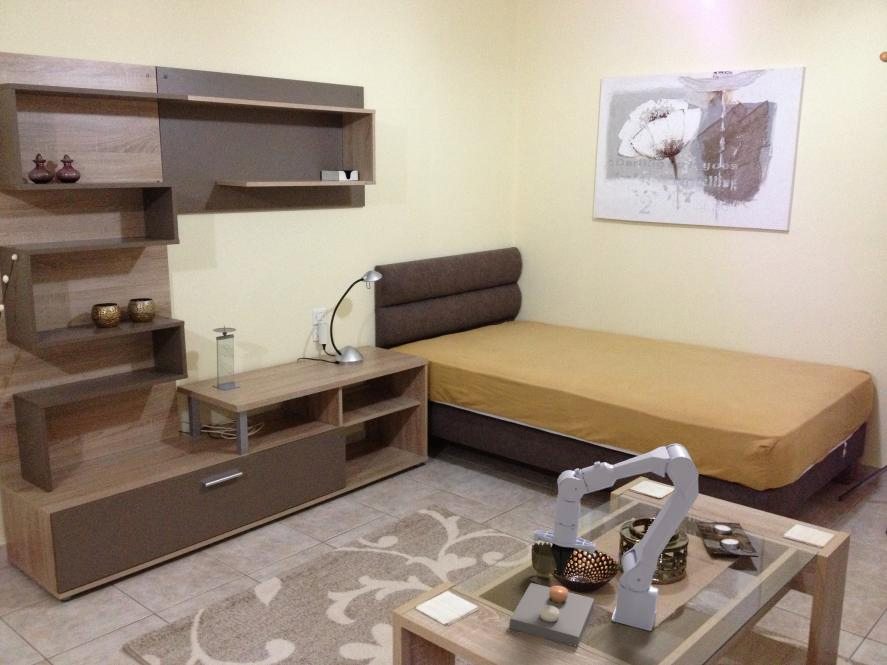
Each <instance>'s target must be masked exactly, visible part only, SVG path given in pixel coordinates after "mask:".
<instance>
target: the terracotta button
mask: <svg viewBox="0 0 887 665" xmlns="http://www.w3.org/2000/svg"><path fill="white" fill-rule="evenodd" d="M568 592H569V590H568V588H566V587H564V586H562V585H553V586H551V587H550V592H549V597H550V598H551V599H552V601H553V602H557V603H560V604H563V602H564V601H565V600H567V597H568Z"/></svg>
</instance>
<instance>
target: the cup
mask: <svg viewBox="0 0 887 665" xmlns="http://www.w3.org/2000/svg"><path fill="white" fill-rule="evenodd" d="M542 542H543V541H542ZM542 542H541V541H540V542H539V543H538V542H534V544H531V550H530V551H531V565H532V568H533V569H534V571H535V575H536V576H537V578H539V579H541V580H548V579H549V578H550V576H551V574H552V573H553V572H555V571H556V570H557V567H556V562H555V559H554V556H553V554H552V552H551V547H552V545H551V543H549V542H544V543H542Z"/></svg>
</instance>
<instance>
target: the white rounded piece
mask: <svg viewBox="0 0 887 665" xmlns="http://www.w3.org/2000/svg"><path fill="white" fill-rule="evenodd" d="M539 616H540V618H541V619H542V620H544V621H547V622H552V623H554V622H555V621H557V620H558V618H559V610H558V609H557V608H556V607H554V606H550V605H545V606H542V607H541V608H540V615H539Z"/></svg>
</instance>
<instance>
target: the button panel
mask: <svg viewBox="0 0 887 665" xmlns="http://www.w3.org/2000/svg"><path fill="white" fill-rule="evenodd" d="M550 588H551V587H549V586H545V585H541V584H538V583H533V582H530V584H529V585H528V587H527V588H526V590H525V592H524V594H523V596H522V598H520V601H519V602H518V605H517V606H516V607H515V609H514V612H513V613H512V614H511V617H510V618H509V629H510V630H515V631H517V632H518V631H519V632H522V633H526V634H529V635H532V636H537V637H540V638H544V639H547V640H550V641H555V642H559V643H563V644H565V643H566V645H570V644H571V645H570V646H572V645H576V646H578V647H579V645H580V642H581V639H582V637H583V634H584V633H585V630H586V627H587V624H588V622H589V619H590V618H591V614H592V612H593V609H594V605H595V598H594V597H593V598H592V597H589V596H585V595H580V594H577V593H573V592H569V591H568V597H567V600H565V601H564V602H563V604H560V603H557V602H553V601H552V599H551V598H550V597H549V592H550ZM545 605H550V606H554V607H556V608H557V609H558V610H559V618H558V620H557V621H555V622H554V623H552V622H547V621H544V620H542V619H541V618H540V616H539V615H540V608H541V607H542V606H545ZM578 644H579V645H578ZM576 646H575V647H576Z"/></svg>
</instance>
